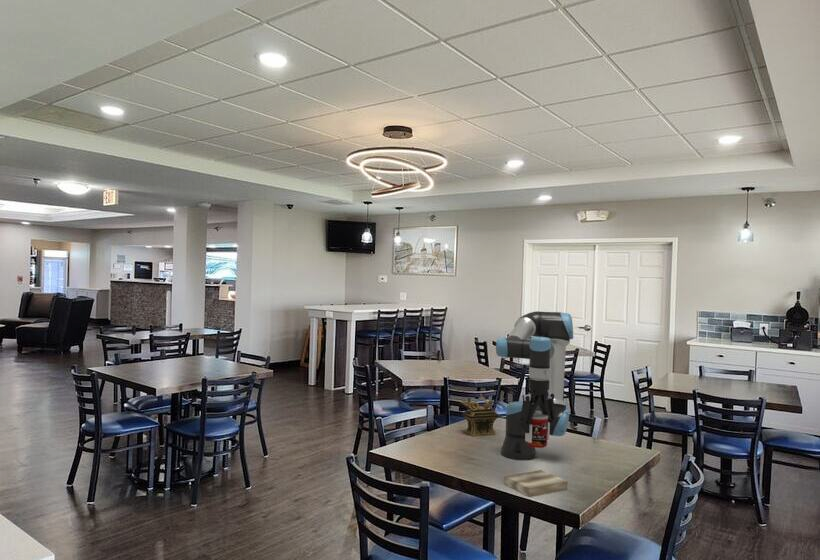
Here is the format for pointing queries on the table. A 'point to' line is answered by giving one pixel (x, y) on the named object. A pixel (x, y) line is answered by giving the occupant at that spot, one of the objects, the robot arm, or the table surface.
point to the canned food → (539, 431)
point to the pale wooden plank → (535, 483)
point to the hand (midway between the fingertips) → (537, 440)
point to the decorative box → (480, 418)
